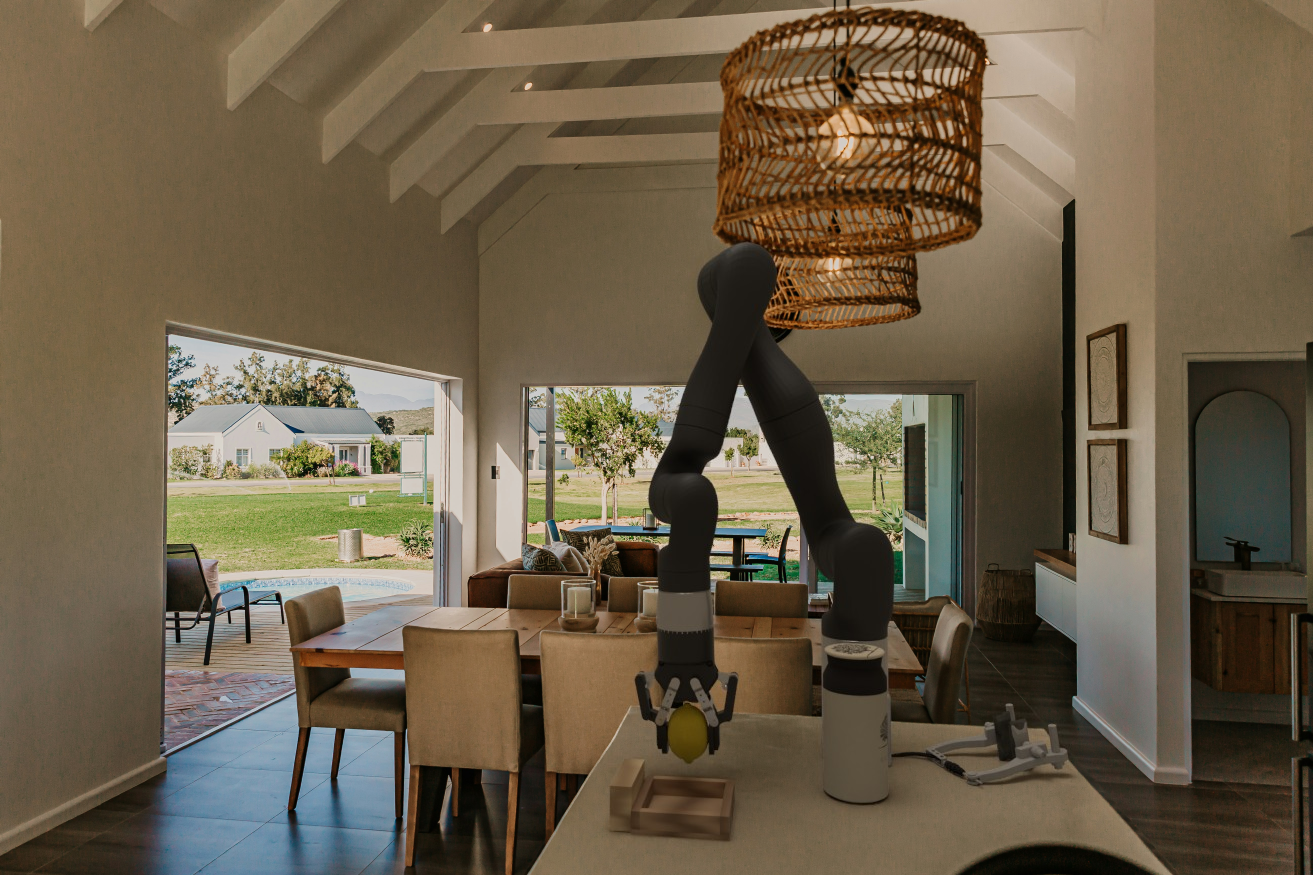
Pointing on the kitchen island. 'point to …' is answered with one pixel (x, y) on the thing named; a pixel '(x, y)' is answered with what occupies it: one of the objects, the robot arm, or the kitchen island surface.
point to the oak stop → (625, 793)
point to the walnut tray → (684, 808)
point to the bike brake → (1000, 749)
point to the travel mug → (855, 723)
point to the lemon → (687, 733)
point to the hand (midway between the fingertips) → (688, 751)
